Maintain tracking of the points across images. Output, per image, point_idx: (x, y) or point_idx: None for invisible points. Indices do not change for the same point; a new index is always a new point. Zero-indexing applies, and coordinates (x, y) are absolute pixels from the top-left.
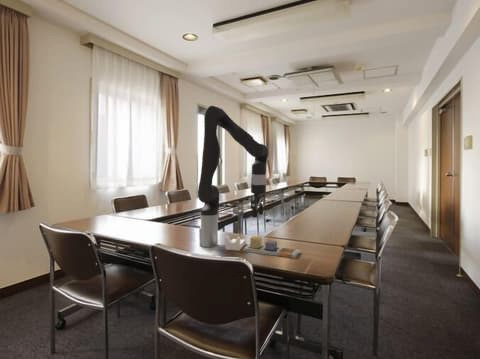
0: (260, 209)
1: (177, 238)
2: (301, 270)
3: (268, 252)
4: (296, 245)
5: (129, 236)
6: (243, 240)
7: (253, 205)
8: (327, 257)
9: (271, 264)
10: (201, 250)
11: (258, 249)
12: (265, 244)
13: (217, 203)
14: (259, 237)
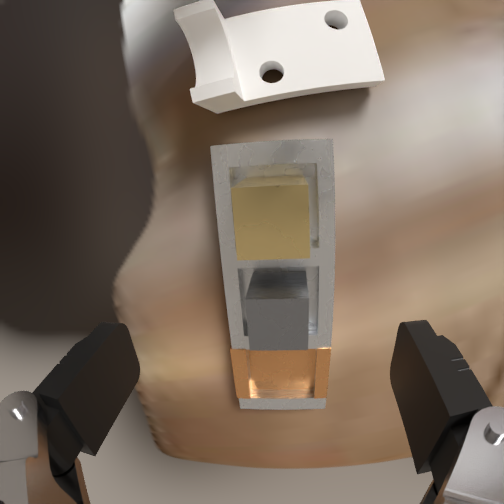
0: (420, 409)
1: None
2: (162, 413)
3: (227, 302)
4: (456, 345)
5: None
6: (356, 74)
7: (4, 461)
8: (324, 454)
9: (148, 330)
10: None
11: (233, 242)
12: (247, 294)
13: None
14: (279, 250)
